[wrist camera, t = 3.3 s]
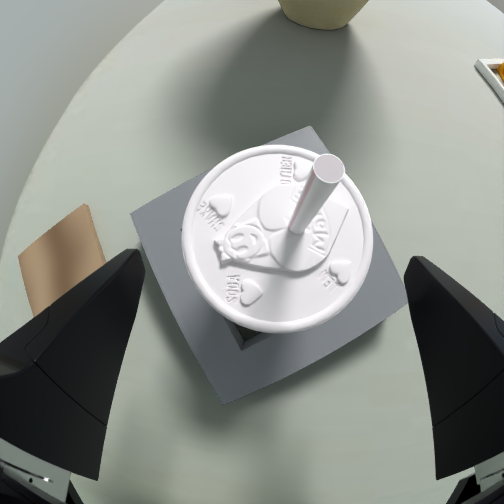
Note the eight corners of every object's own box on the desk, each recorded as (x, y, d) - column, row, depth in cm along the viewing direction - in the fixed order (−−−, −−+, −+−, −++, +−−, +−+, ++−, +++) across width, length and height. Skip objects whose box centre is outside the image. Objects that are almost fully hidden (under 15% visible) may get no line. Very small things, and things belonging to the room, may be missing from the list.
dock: (228, 388, 17) (223, 405, 14) (147, 224, 19) (129, 213, 16) (389, 300, 18) (410, 300, 15) (304, 146, 19) (310, 125, 16)
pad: (51, 351, 18) (46, 352, 17) (22, 256, 19) (18, 256, 18) (126, 311, 18) (122, 312, 17) (88, 205, 19) (84, 203, 19)
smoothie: (330, 293, 18) (490, 290, 4) (238, 325, 18) (174, 421, 4) (298, 203, 19) (364, 39, 5) (208, 232, 19) (100, 104, 5)
